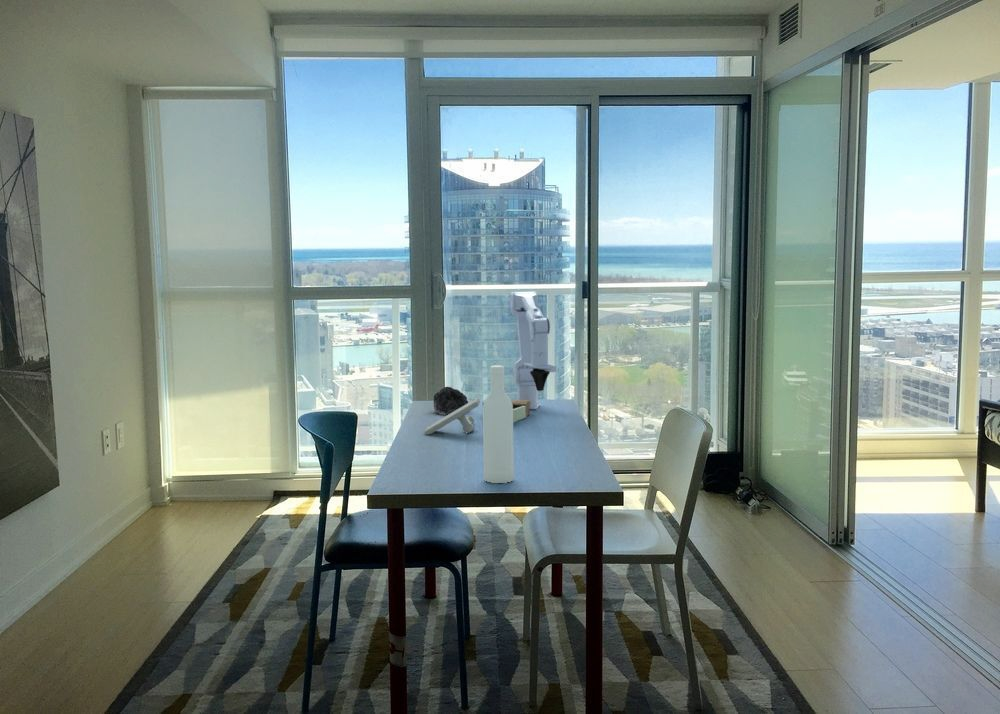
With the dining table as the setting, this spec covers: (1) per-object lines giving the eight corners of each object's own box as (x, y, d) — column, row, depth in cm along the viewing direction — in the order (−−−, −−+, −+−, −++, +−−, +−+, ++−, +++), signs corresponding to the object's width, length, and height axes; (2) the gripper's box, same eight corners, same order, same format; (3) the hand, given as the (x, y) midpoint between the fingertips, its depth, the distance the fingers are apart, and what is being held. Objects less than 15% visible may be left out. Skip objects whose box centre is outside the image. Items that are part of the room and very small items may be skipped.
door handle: (437, 452, 269) (489, 422, 266) (424, 431, 268) (476, 401, 265) (444, 438, 286) (492, 410, 283) (431, 419, 285) (480, 390, 282)
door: (501, 425, 278) (501, 413, 278) (524, 416, 291) (524, 405, 291) (506, 425, 277) (506, 413, 277) (529, 417, 290) (529, 405, 290)
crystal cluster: (467, 417, 298) (469, 390, 298) (430, 414, 298) (432, 387, 298) (469, 413, 312) (471, 387, 311) (434, 410, 312) (435, 384, 311)
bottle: (520, 480, 212) (518, 366, 209) (495, 486, 208) (493, 369, 204) (502, 474, 219) (500, 363, 215) (477, 479, 214) (475, 366, 211)
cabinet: (487, 412, 302) (486, 399, 301) (529, 414, 298) (529, 400, 298) (482, 416, 295) (482, 402, 294) (526, 417, 292) (526, 403, 291)
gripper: (517, 351, 291) (517, 389, 293) (546, 355, 280) (546, 394, 282) (531, 349, 296) (532, 387, 297) (560, 353, 285) (561, 391, 287)
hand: (540, 390), depth 290 cm, fingers closed
